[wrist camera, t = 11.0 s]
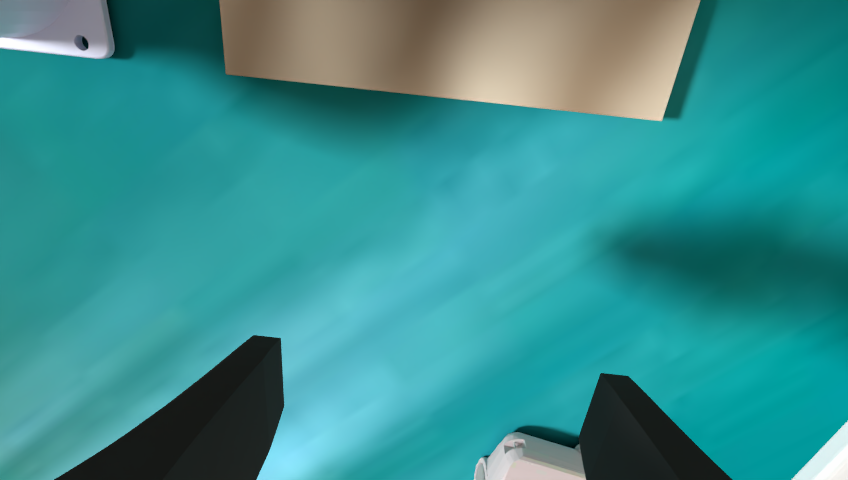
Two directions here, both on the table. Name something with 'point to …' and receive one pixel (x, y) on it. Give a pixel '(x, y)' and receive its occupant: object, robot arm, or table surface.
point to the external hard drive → (829, 460)
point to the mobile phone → (530, 460)
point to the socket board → (471, 49)
